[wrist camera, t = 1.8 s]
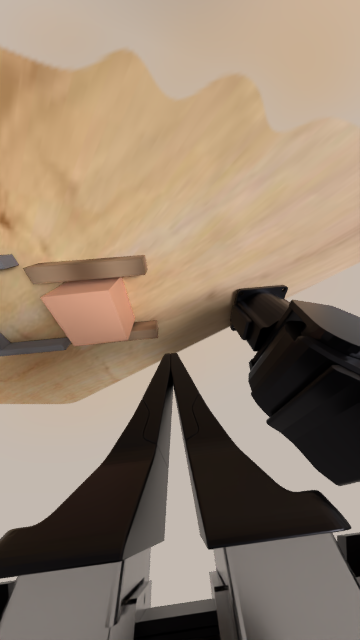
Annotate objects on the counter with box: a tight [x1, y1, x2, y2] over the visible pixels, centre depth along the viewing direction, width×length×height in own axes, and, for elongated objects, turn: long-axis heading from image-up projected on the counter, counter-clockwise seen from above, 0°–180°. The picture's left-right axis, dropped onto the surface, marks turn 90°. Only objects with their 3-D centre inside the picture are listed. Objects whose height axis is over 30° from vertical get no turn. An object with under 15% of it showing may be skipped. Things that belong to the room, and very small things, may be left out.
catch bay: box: [0, 254, 71, 356], centre depth 17 cm, size 9×12×2 cm
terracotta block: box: [40, 277, 135, 346], centre depth 16 cm, size 6×6×4 cm
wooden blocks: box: [23, 255, 158, 344], centre depth 17 cm, size 11×10×2 cm
